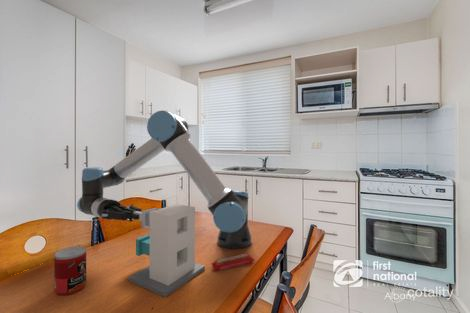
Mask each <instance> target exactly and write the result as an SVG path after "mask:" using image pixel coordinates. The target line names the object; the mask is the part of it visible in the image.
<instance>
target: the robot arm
mask: <svg viewBox="0 0 470 313" xmlns="http://www.w3.org/2000/svg"><path fill="white" fill-rule="evenodd" d="M146 130H147V133H148V135H149V137H151V138H150V139H149V140H147V141H146V142H145V143H143V144H142V145H140V146H139V147H137V148H136V149H135V150H134V151H132V152H131V153H130V154H128V155H127V156H125V157H124V158H123V159H121V160H120V161H118V162H117V163H115V165H113V166H112V167H111V168H109V169H107V170H104V169H103V167H96V166H95V167H93V166H92V167H85V168H83V169H82V171H81V172H82V173H81V187H82V188H81V193H82V194H81V197H80V198H79V199H78V201H77V204H76V206H77V210H79V211H80V212H81V213H83V214H86V215H89V216H96V217H98V218H101V219H103V220H104V219H105V220H108V221H110V220H118V221H127V220H128V222H133V220H135V221H137V222H142V211H143V210H142V208H139V207H137V206H134V204H130V205H128V206H126V205H123V204H121V203H120V202H119V201H118V200H115V199H110V198H108V197H107V198H106V197H104V188H109V187H114V186H119V185H121V184H123V183H124V182H125V180H126V178H128V177H129V176H130V175H132V174H133V173H135V172H136V171H137V170H138V169H140V168H141V167H143V166H144V165H146V164H147V163H148V162H149V161H151V160H152V159H154V158H155V157H157V156H158V155H159V154H161V153H162V152H163V151H166V152H168V153H169V152H170V153H172V155H173V157H174V158H176V160H177V161H178V162H179V164H180V165H181V167H182V169H184V171H185V172H186V174H187V176H189V177H190V178H189V179H191V180H192V182H193V183H194V185H195V186H196V187H197V189H198V190H199V192H201V194H202V196H203V197H204V198H205V200H206V201H207V206H206V207H207V209H208V211H209V212H210V213H211V214H212V219H213V222H214V225H215V227H216V228H217V229H218V230H219V232H218V235H217V244H218V245H219V246H221V247H223V248H226V249H231V250H234V249H238V250H239V249H244V248H247V247H249V246H251V244H252V235H251V232H250V228H249V226H248V225H249V223H248V222H249V192H248V191H246V190H232V188H228V187H226V186H225V185H224V184H223V182H222V181H221V180H220V178H219V177H218V176H217V175H216V172H214V170H213V169H212V168H211V166H210V164H208V163H207V161H206V159H205V158H204V157H203V155H202V154H201V153H200V151H199V150H198V149H197V147H196V146H195V145H194V143H193V142H192V141H191V139H190V138H191V132H189V125H188V122H187V121H186V119H185V118H184V117H182V116H180V115H178V114H175V113H173V112H171V111H169V110H158V111H155V112H154V113H152V114H151V116H149V118H148V120H147V125H146Z"/></svg>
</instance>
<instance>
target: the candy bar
mask: <svg viewBox="0 0 470 313" xmlns="http://www.w3.org/2000/svg"><path fill="white" fill-rule="evenodd" d="M254 261H255V259H254V257H253V256H251V255H250V254H249V253H243V254H238V255H237V254H236V255H234V256H228V257H223V258H220V259H216V260H214V261H213V262H212V263H211V266H212V269H213V271H218V272H219V271H220V272H221V271H224V270H227V269H228V270H229V269H233V268H235V267H237V268H238V267H240V266H246V265H249V264H252V263H253V262H254Z"/></svg>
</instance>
